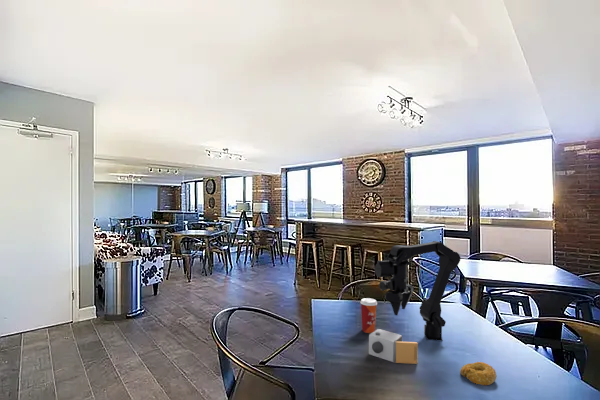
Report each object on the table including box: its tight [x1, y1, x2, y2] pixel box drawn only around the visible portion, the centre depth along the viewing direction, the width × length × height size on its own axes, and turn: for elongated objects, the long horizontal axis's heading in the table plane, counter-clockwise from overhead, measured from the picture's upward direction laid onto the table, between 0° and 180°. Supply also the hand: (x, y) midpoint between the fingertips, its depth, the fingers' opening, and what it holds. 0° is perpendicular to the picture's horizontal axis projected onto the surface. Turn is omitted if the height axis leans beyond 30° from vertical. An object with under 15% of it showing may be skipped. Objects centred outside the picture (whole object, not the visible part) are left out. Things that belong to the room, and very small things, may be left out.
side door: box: [393, 341, 419, 365], centre depth 123 cm, size 8×1×8 cm, turn 86°
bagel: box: [459, 361, 497, 386], centre depth 114 cm, size 10×11×5 cm
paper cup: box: [359, 297, 378, 334], centre depth 154 cm, size 8×8×14 cm
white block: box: [368, 328, 403, 363], centre depth 130 cm, size 9×10×8 cm
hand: (399, 312), depth 143 cm, fingers open, 9 cm apart
